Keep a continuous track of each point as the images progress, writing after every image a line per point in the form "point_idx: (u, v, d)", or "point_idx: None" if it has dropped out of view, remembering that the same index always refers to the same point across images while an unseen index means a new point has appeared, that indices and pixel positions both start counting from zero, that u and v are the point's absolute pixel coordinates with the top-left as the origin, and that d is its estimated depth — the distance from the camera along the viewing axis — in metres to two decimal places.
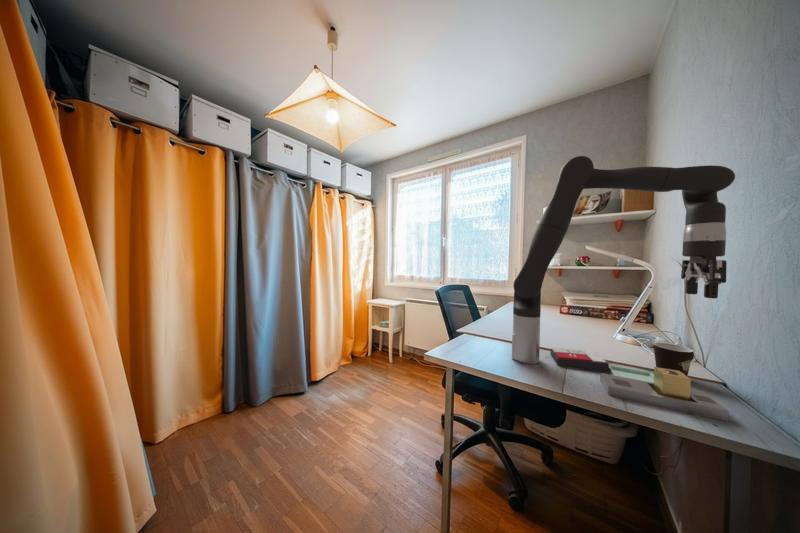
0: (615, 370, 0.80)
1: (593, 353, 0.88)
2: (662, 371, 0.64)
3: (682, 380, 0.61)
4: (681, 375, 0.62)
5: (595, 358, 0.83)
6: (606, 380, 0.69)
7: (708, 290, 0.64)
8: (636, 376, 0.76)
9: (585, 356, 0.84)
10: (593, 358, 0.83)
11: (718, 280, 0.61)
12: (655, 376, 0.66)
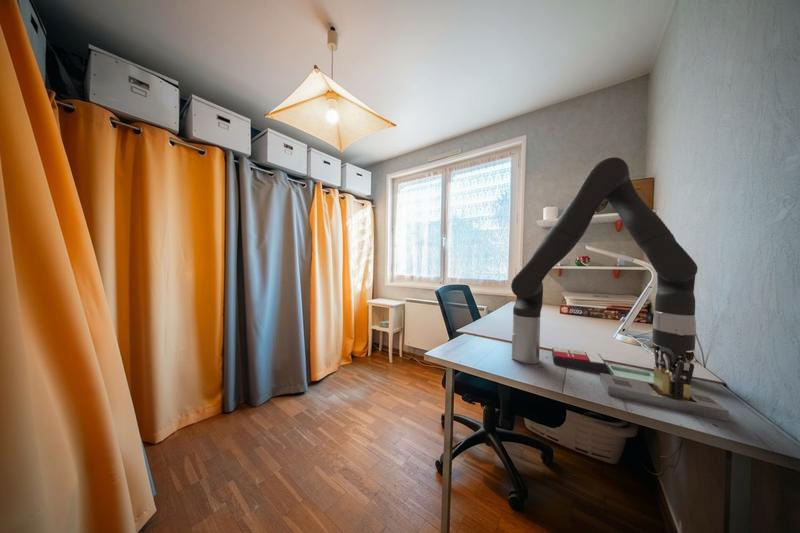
0: (615, 370, 0.80)
1: (595, 354, 0.86)
2: (662, 371, 0.64)
3: None
4: None
5: (594, 359, 0.82)
6: (606, 380, 0.69)
7: (673, 388, 0.61)
8: (636, 376, 0.76)
9: (584, 356, 0.84)
10: (592, 359, 0.82)
11: (682, 382, 0.58)
12: (655, 376, 0.66)
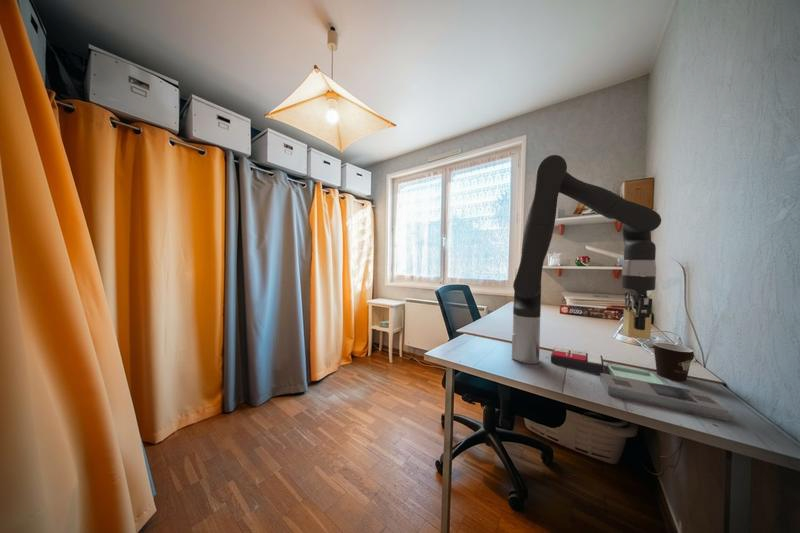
0: (615, 370, 0.80)
1: (597, 355, 0.85)
2: (629, 310, 0.75)
3: None
4: None
5: (592, 359, 0.82)
6: (606, 380, 0.69)
7: (637, 322, 0.72)
8: (636, 376, 0.76)
9: (582, 357, 0.84)
10: (590, 359, 0.82)
11: (643, 315, 0.70)
12: (624, 316, 0.77)
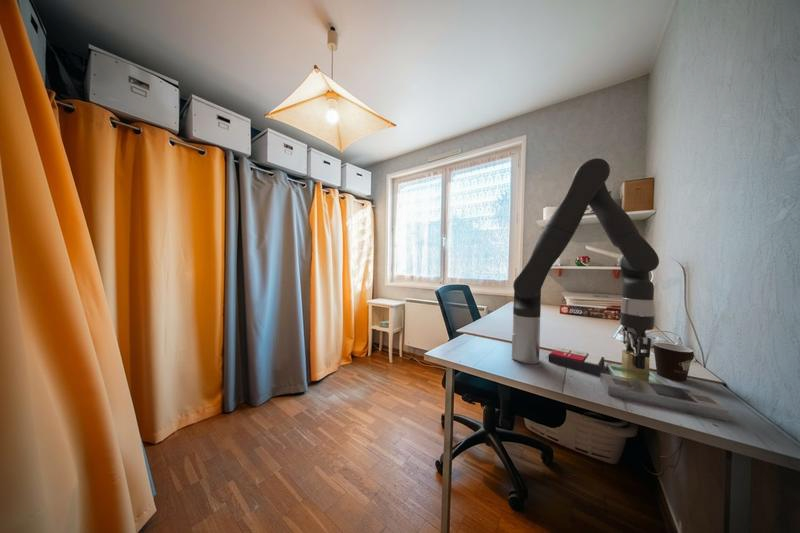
0: (615, 370, 0.80)
1: (598, 357, 0.84)
2: (627, 353, 0.75)
3: None
4: None
5: (590, 360, 0.81)
6: (606, 380, 0.69)
7: (637, 361, 0.72)
8: None
9: (580, 357, 0.84)
10: (587, 360, 0.81)
11: (643, 355, 0.69)
12: (622, 357, 0.78)
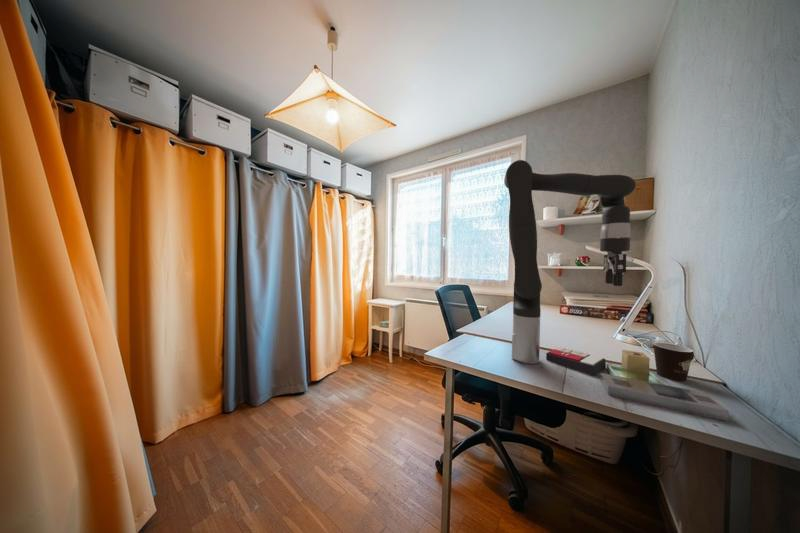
0: (615, 370, 0.80)
1: (598, 358, 0.83)
2: (627, 353, 0.75)
3: (643, 359, 0.72)
4: (642, 355, 0.73)
5: (586, 360, 0.81)
6: (606, 380, 0.69)
7: (615, 279, 0.76)
8: None
9: (578, 357, 0.84)
10: (584, 360, 0.81)
11: (620, 270, 0.74)
12: (622, 357, 0.78)
